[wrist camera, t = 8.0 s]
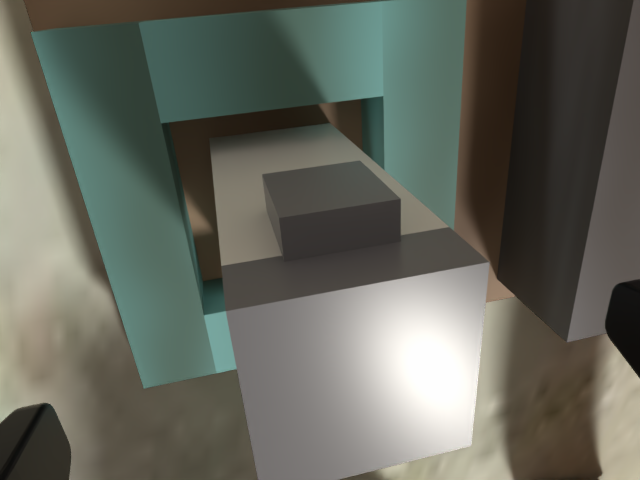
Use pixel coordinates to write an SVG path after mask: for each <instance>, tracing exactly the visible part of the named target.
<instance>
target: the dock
mask: <svg viewBox="0 0 640 480" xmlns="http://www.w3.org/2000/svg"><path fill="white" fill-rule="evenodd" d="M24 2H25V6H26V9H27V12H28V15H29V18H30V21H31V25H32V28H33V31H34V32H31V35H32V38H33V42H34V45H35V48H36V51H37V54H38V57H39V60H40V64H41V67H42V70H43V73H44V76H45V79H46V82H47V86H48V89H49V92H50V95H51V98H52V101H53V105H54V108H55V111H56V114H57V117H58V120H59V123H60V127H61V130H62V133H63V136H64V139H65V142H66V145H67V149H68V152H69V155H70V158H71V161H72V164H73V167H74V171H75V174H76V177H77V180H78V183H79V186H80V189H81V193H82V196H83V199H84V202H85V205H86V208H87V211H88V215H89V218H90V221H91V224H92V227H93V230H94V234H95V237H96V240H97V243H98V246H99V249H100V252H101V256H102V259H103V262H104V265H105V268H106V271H107V274H108V278H109V281H110V284H111V287H112V290H113V293H114V296H115V300H116V303H117V306H118V309H119V312H120V315H121V318H122V322H123V325H124V328H125V331H126V334H127V337H128V341H129V344H130V347H131V350H132V353H133V356H134V359H135V363H136V366H137V369H138V372H139V375H140V378H141V381H142V385H143V388H144V389H145V388H149V387H154V386H159V385H164V384H168V383H173V382H178V381H182V380H187V379H192V378H197V377H201V376H206V375H211V374H216V373H220V372H225V371H230V370H235V369H237V368H236V363H235V357H234V352H233V347H232V342H231V337H230V331H229V326H228V321H227V316H226V310H225V299H224V289H223V278H222V268H221V257H220V247H219V236H218V226H217V215H216V205H215V194H214V184H213V173H212V162H211V152H210V141H209V138H215V137H223V136H231V135H239V134H247V133H255V132H263V131H271V130H279V129H287V128H295V127H303V126H311V125H319V124H327V123H331V124H332V125H333V126H334V127H335V128H336V129H338V130H339V131H340V132H341V133H342V134H343V135H344V136H346V137H347V138H348V139H349V140H350V141H351V142H352V143H354V144H355V145H356V146H357V147H358V148H359V149H360V150H362V151H363V152H364V153H365V154H366V155H367V156H369V157H370V158H371V159H372V160H373V161H374V162H375V163H377V164H378V165H379V166H380V167H381V168H382V169H383V170H385V171H386V172H387V173H388V174H389V175H390V176H391V177H393V178H394V179H395V180H396V181H397V182H398V183H400V184H401V185H402V186H403V187H404V188H405V189H406V190H408V191H409V192H410V193H411V194H412V195H413V196H414V197H416V198H417V199H418V200H419V201H420V202H421V203H422V204H424V205H425V206H426V207H427V208H428V209H429V210H430V211H432V212H433V213H434V214H435V215H436V216H437V217H439V218H440V219H441V220H442V221H443V222H444V223H445V224H447V225H448V226H449V227H450V228H451V229H452V230H453V231H455V232H456V233H457V234H458V235H459V236H460V237H461V238H463V239H464V240H465V241H466V242H467V243H468V244H470V245H471V246H472V247H473V248H474V249H475V250H476V251H478V252H479V253H480V254H481V255H482V256H483V257H484V258H486V259H487V260H488V261H489V262H490V264H489V274H488V284H487V294H486V302H491V301H496V300H501V299H506V298H510V297H515V296H516V297H517V298H518V299H519V300H521V301H522V302H523V303H524V304H525V305H526V306H527V307H528V308H529V309H530V310H532V311H533V312H534V313H535V314H536V315H537V316H538V317H539V318H540V319H541V320H543V321H544V322H545V323H546V324H547V325H548V326H549V327H550V328H551V329H552V330H554V331H555V332H556V333H557V334H558V335H559V336H560V337H561V338H562V339H564V340H565V341H566V342H571V341H575V340H580V339H584V338H589V337H593V336H597V335H602V334H606V330H605V318H606V314H607V310H608V305H609V301H610V297H611V293H612V290H613V288H614V287H615V286H616V285H617V284H619V283H621V282H626V281H631V280H636V279H640V0H24Z"/></svg>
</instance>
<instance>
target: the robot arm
mask: <svg viewBox="0 0 640 480" xmlns="http://www.w3.org/2000/svg"><path fill="white" fill-rule="evenodd" d="M605 330H606V333H607V335H608V337H609V338H610V340H611V341H612V342H613V344H614V345H615V346H616V348H617V349H618V350H619V352H620V353H621V354H622V356H623V357H624V358H625V359H626V361H627V362H628V363H629V365H630V366H631V367H632V369H633V370H634V371H635V373H636V374H637V375H638V377H639V378H640V279H636V280H631V281H626V282H621V283H619V284H617V285H616V286H615V287H614V288H613V290H612V293H611V297H610V301H609V305H608V310H607V314H606V318H605ZM70 465H71V449H70V444H69V441H68V439H67V437H66V434H65V432H64V430H63V428H62V425H61V423H60V421H59V419H58V416H57V414H56V412H55V410H54V408H53V407H52V406H51V405H50V404H48V403H41V404H36V405H31V406H26V407H22V408H19V409H16V410H15V411H13V412H12V413H11V414H10V415H9V416H8V417H7V418H5V419H4V420H3V421H2V422H1V423H0V480H69V474H70Z"/></svg>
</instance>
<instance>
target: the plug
mask: <svg viewBox="0 0 640 480" xmlns="http://www.w3.org/2000/svg"><path fill="white" fill-rule="evenodd" d="M209 141H210V152H211V162H212V173H213V184H214V194H215V205H216V215H217V226H218V236H219V247H220V257H221V268H222V278H223V289H224V299H225V310H226V316H227V321H228V326H229V331H230V337H231V342H232V347H233V352H234V357H235V363H236V368H237V373H238V378H239V383H240V389H241V394H242V399H243V404H244V410H245V415H246V420H247V425H248V430H249V436H250V441H251V446H252V451H253V456H254V462H255V467H256V472H257V477H258V480H339V479H343V478H347V477H351V476H355V475H359V474H363V473H367V472H371V471H375V470H379V469H382V468H386V467H390V466H394V465H398V464H402V463H406V462H410V461H414V460H418V459H422V458H425V457H429V456H433V455H437V454H441V453H445V452H449V451H453V450H457V449H461V448H465V447H468V446H471V443H472V433H473V423H474V413H475V403H476V393H477V383H478V373H479V364H480V354H481V344H482V334H483V324H484V314H485V304H486V294H487V284H488V274H489V264H490V262H489V261H488V260H487V259H486V258H484V257H483V256H482V255H481V254H480V253H479V252H478V251H476V250H475V249H474V248H473V247H472V246H471V245H470V244H468V243H467V242H466V241H465V240H464V239H463V238H461V237H460V236H459V235H458V234H457V233H456V232H455V231H453V230H452V229H451V228H450V227H449V226H448V225H447V224H445V223H444V222H443V221H442V220H441V219H440V218H439V217H437V216H436V215H435V214H434V213H433V212H432V211H430V210H429V209H428V208H427V207H426V206H425V205H424V204H422V203H421V202H420V201H419V200H418V199H417V198H416V197H414V196H413V195H412V194H411V193H410V192H409V191H408V190H406V189H405V188H404V187H403V186H402V185H401V184H400V183H398V182H397V181H396V180H395V179H394V178H393V177H391V176H390V175H389V174H388V173H387V172H386V171H385V170H383V169H382V168H381V167H380V166H379V165H378V164H377V163H375V162H374V161H373V160H372V159H371V158H370V157H369V156H367V155H366V154H365V153H364V152H363V151H362V150H360V149H359V148H358V147H357V146H356V145H355V144H354V143H352V142H351V141H350V140H349V139H348V138H347V137H346V136H344V135H343V134H342V133H341V132H340V131H339V130H338V129H336V128H335V127H334V126H333V125H332V124H331V123H327V124H319V125H311V126H303V127H295V128H287V129H279V130H271V131H263V132H255V133H247V134H239V135H231V136H223V137H215V138H209Z"/></svg>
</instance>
